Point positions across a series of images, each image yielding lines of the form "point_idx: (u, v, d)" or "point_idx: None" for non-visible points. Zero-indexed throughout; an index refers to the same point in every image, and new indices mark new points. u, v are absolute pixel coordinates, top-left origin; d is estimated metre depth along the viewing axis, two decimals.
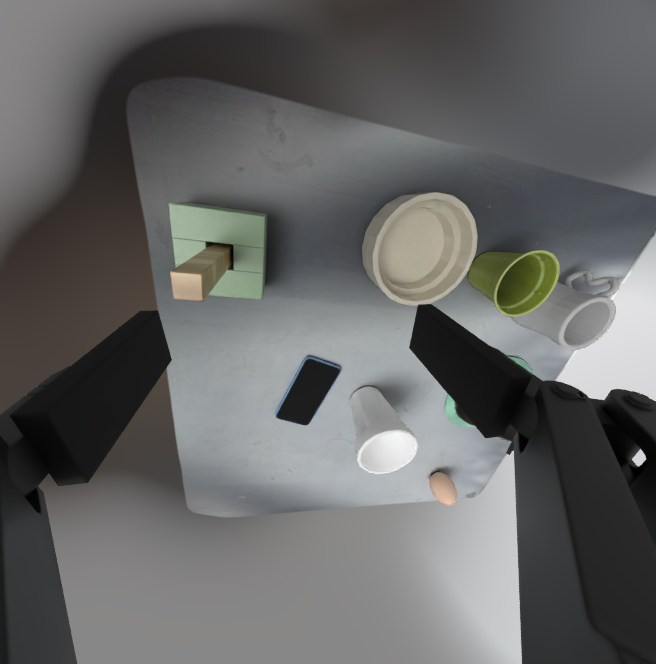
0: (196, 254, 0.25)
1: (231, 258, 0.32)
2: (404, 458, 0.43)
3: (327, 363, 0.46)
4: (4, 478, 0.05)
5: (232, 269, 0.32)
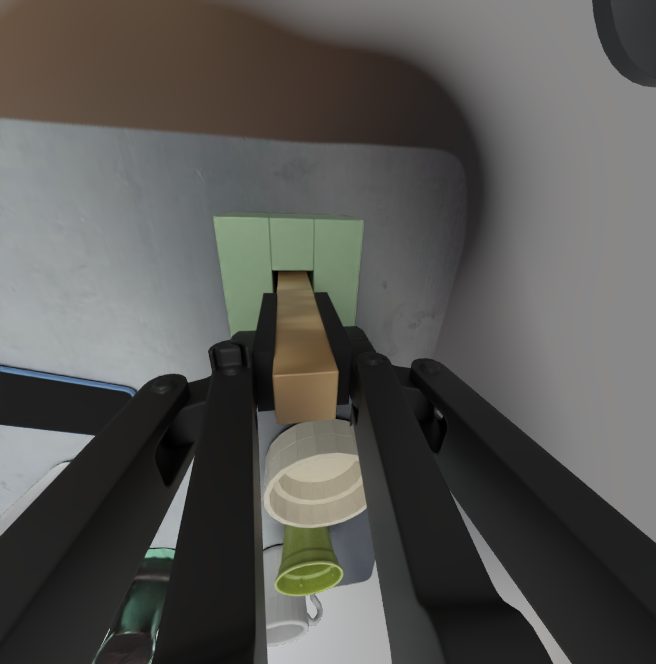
0: (315, 301, 0.15)
1: None
2: None
3: None
4: (252, 403, 0.07)
5: None
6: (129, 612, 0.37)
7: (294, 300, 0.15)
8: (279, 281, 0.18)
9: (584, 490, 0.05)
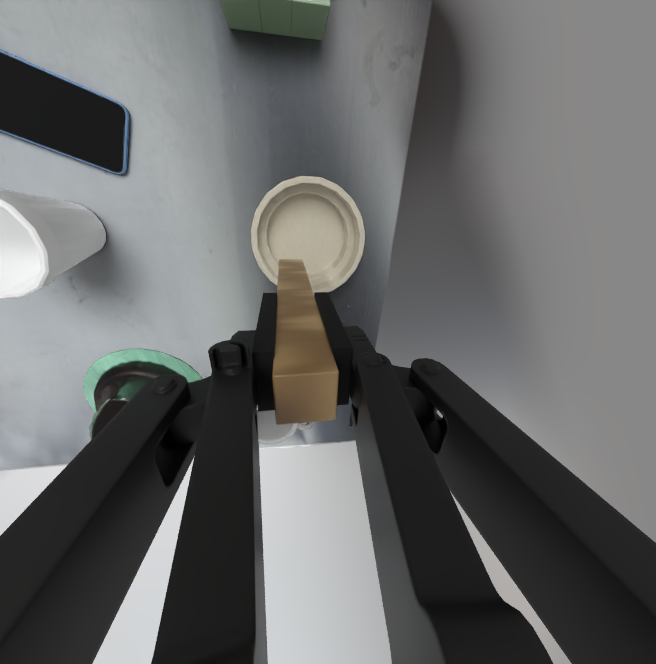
0: (315, 301, 0.15)
1: None
2: None
3: (125, 147, 0.30)
4: (252, 403, 0.07)
5: None
6: (125, 390, 0.39)
7: (294, 300, 0.15)
8: (279, 281, 0.18)
9: (585, 490, 0.05)
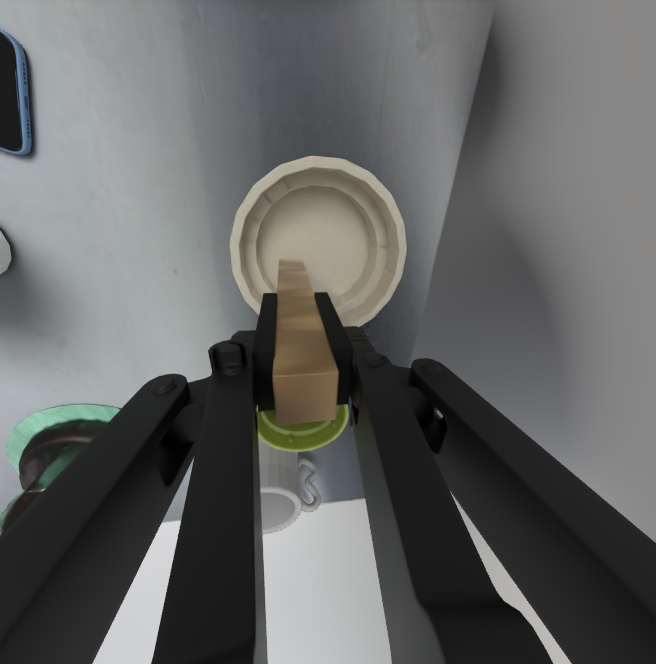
0: (315, 301, 0.15)
1: None
2: None
3: (23, 110, 0.19)
4: (252, 403, 0.07)
5: None
6: (53, 471, 0.27)
7: (294, 300, 0.15)
8: (279, 281, 0.18)
9: (584, 490, 0.05)
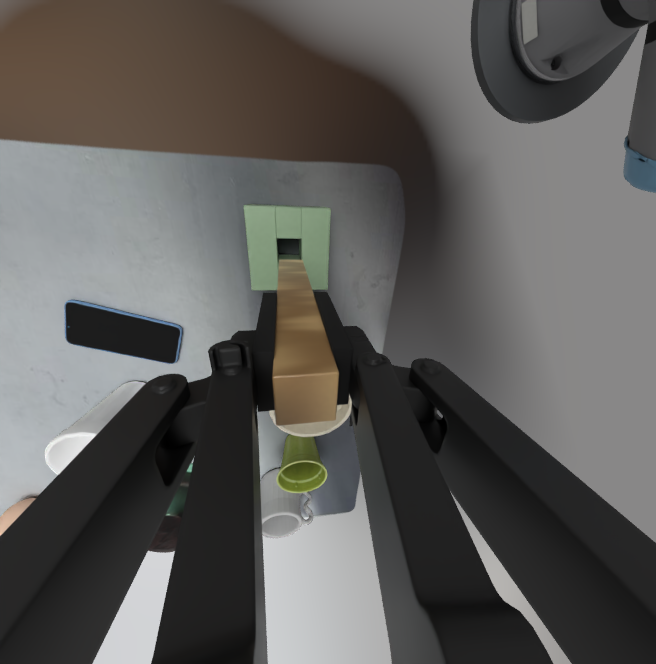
0: (315, 301, 0.15)
1: None
2: None
3: (178, 349, 0.42)
4: (252, 403, 0.07)
5: (277, 261, 0.33)
6: None
7: (294, 300, 0.15)
8: (279, 281, 0.18)
9: (584, 490, 0.05)
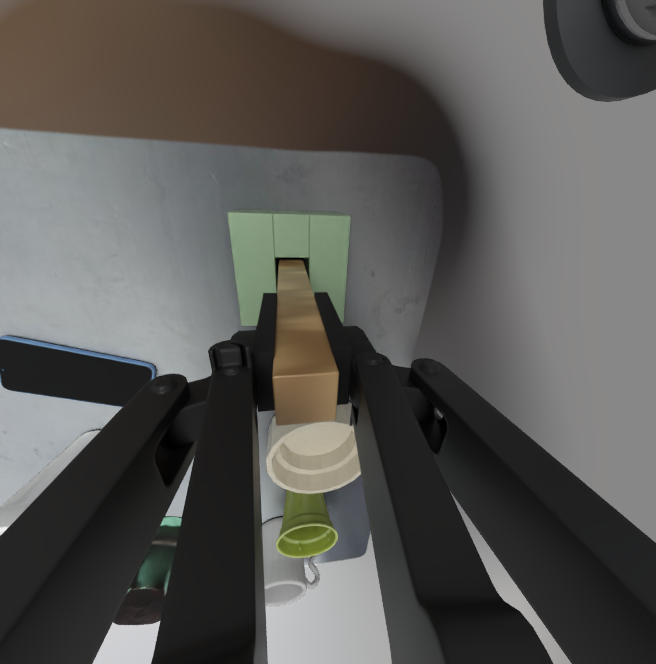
0: (315, 301, 0.15)
1: None
2: None
3: None
4: (252, 403, 0.07)
5: (276, 287, 0.24)
6: (144, 571, 0.41)
7: (294, 300, 0.15)
8: (279, 281, 0.18)
9: (584, 490, 0.05)
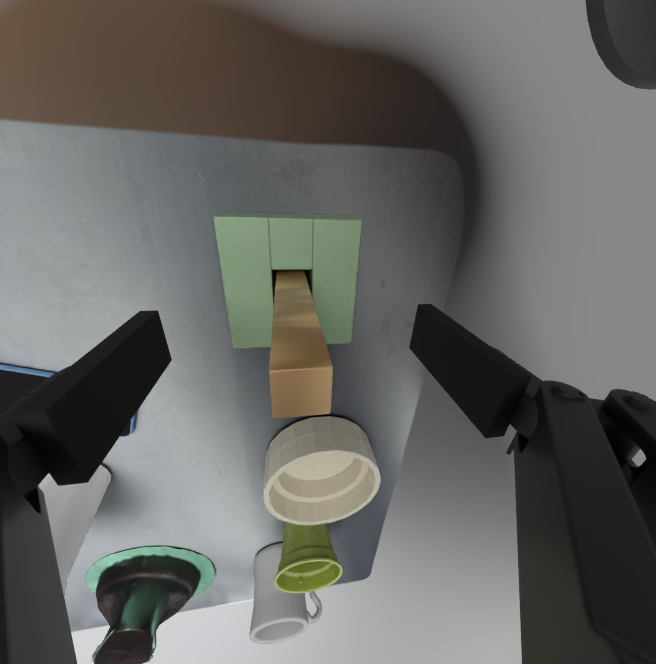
0: (312, 300, 0.15)
1: None
2: None
3: (132, 417, 0.29)
4: (4, 478, 0.05)
5: (273, 304, 0.21)
6: (129, 610, 0.37)
7: (291, 299, 0.15)
8: (277, 281, 0.18)
9: None
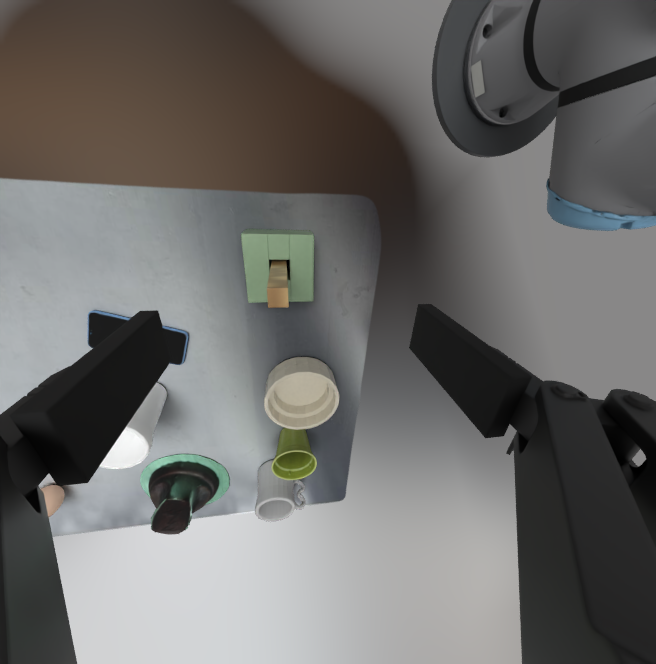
0: (286, 272, 0.34)
1: None
2: (107, 461, 0.42)
3: (184, 352, 0.48)
4: (4, 478, 0.05)
5: None
6: (175, 489, 0.56)
7: (277, 271, 0.33)
8: (271, 265, 0.37)
9: None
